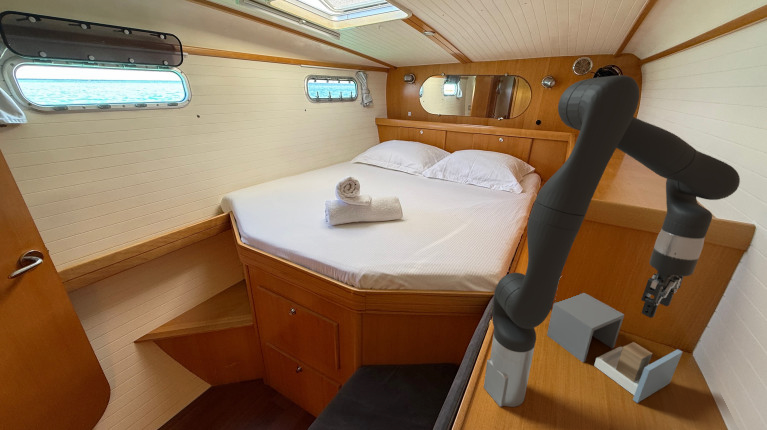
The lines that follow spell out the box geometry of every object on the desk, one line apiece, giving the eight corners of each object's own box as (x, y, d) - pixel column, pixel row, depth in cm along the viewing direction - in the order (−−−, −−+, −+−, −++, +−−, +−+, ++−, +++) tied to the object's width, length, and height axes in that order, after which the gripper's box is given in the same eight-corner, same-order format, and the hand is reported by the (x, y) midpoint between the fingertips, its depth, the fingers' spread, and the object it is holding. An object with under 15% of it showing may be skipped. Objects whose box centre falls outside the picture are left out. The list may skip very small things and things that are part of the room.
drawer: (637, 403, 74) (649, 370, 70) (590, 367, 84) (598, 337, 80) (669, 383, 79) (682, 351, 75) (621, 351, 89) (631, 323, 85)
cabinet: (582, 362, 86) (592, 328, 81) (546, 335, 96) (553, 303, 92) (614, 347, 91) (624, 314, 86) (576, 323, 101) (584, 292, 97)
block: (633, 382, 78) (642, 358, 75) (615, 369, 82) (623, 346, 79) (643, 376, 80) (652, 353, 77) (625, 364, 83) (633, 341, 81)
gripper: (685, 265, 61) (661, 329, 67) (710, 249, 68) (687, 308, 73) (641, 251, 67) (623, 310, 73) (668, 237, 74) (650, 293, 79)
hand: (655, 309), depth 73 cm, fingers open, 8 cm apart
